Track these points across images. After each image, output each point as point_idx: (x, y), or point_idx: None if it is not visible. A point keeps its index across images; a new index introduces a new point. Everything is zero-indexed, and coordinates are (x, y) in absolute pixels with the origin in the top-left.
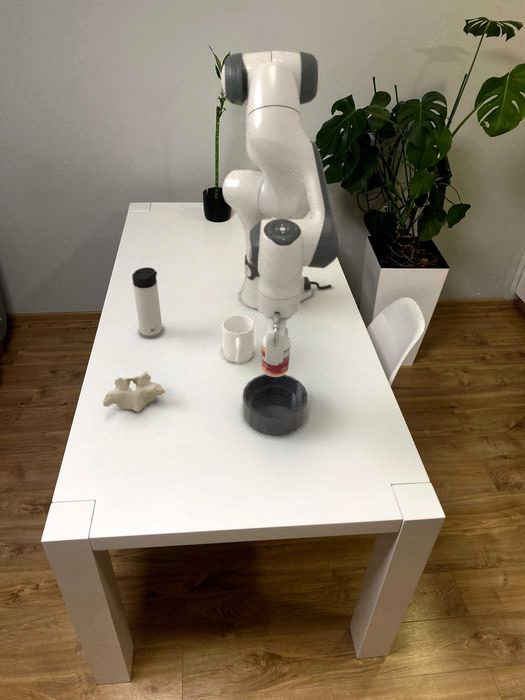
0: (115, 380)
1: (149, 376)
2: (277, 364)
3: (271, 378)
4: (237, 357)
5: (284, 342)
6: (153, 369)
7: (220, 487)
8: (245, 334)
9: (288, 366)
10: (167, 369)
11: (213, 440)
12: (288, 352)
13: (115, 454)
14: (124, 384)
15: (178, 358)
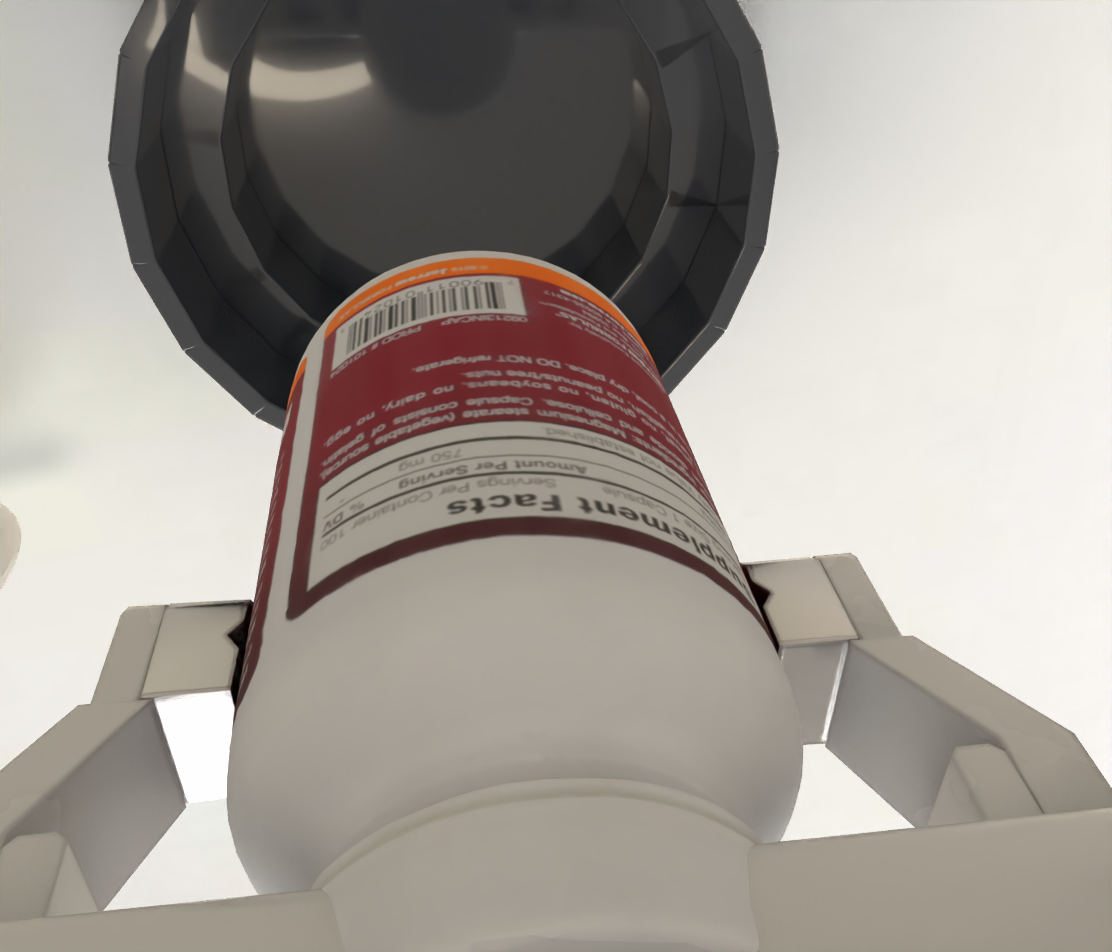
0: None
1: None
2: (852, 562)
3: (175, 254)
4: (9, 574)
5: (1020, 906)
6: (219, 865)
7: (1100, 391)
8: None
9: (504, 275)
10: (194, 816)
11: (747, 491)
12: (625, 480)
13: (822, 828)
14: None
15: None
